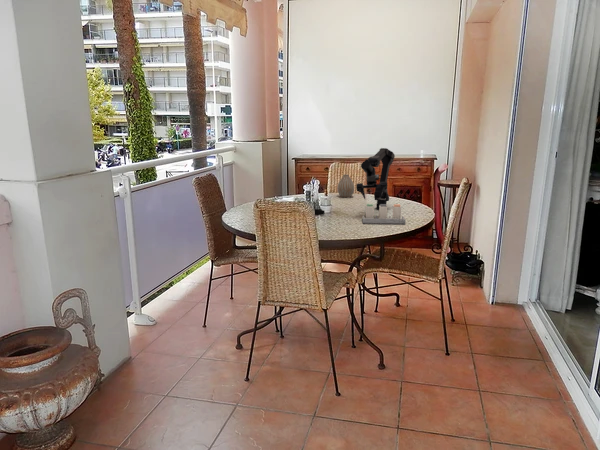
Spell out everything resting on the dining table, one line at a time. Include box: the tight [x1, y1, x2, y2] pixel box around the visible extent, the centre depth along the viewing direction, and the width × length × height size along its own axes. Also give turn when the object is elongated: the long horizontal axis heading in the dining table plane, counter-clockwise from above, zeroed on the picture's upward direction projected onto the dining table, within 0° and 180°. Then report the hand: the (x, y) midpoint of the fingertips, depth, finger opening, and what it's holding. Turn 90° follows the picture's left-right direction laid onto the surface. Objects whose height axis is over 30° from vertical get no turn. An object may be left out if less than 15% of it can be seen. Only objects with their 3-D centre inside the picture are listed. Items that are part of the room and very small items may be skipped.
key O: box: [391, 203, 402, 219], centre depth 260 cm, size 4×4×9 cm
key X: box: [378, 204, 388, 218], centre depth 261 cm, size 4×4×9 cm
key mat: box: [361, 217, 406, 226], centre depth 260 cm, size 12×24×1 cm, turn 83°
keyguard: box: [362, 215, 407, 224], centre depth 259 cm, size 10×24×2 cm, turn 83°
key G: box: [365, 203, 375, 218], centre depth 262 cm, size 4×4×9 cm
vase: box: [336, 173, 355, 198], centre depth 341 cm, size 13×13×18 cm
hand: (372, 199), depth 266 cm, fingers open, 9 cm apart
